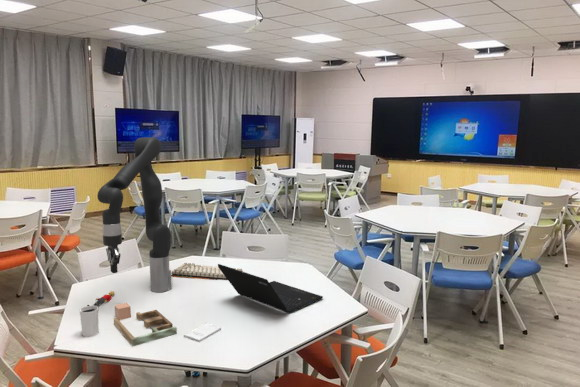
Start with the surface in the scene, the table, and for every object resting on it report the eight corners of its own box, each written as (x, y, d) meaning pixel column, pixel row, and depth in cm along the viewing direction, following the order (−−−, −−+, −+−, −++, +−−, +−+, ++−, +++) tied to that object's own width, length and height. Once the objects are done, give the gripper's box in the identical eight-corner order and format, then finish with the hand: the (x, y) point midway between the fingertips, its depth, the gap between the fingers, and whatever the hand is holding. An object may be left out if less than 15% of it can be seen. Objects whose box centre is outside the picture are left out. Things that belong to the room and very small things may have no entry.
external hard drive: (221, 331, 175) (199, 343, 164) (205, 326, 179) (183, 338, 169) (221, 327, 175) (199, 339, 164) (205, 322, 179) (183, 334, 168)
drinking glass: (87, 329, 174) (85, 305, 173) (103, 329, 174) (101, 305, 172) (77, 336, 168) (75, 311, 166) (93, 337, 167) (92, 312, 166)
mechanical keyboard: (245, 271, 249) (245, 265, 249) (235, 283, 231) (235, 276, 230) (182, 267, 256) (182, 261, 255) (167, 278, 237) (167, 272, 237)
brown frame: (154, 313, 189) (154, 308, 189) (176, 333, 171) (176, 327, 171) (113, 324, 179) (113, 318, 179) (132, 346, 161) (132, 339, 160)
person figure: (86, 300, 193) (109, 286, 210) (84, 308, 193) (107, 293, 211) (97, 304, 192) (119, 290, 210) (95, 312, 193) (117, 297, 211)
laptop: (323, 300, 207) (324, 260, 204) (266, 325, 180) (266, 280, 177) (274, 283, 229) (274, 247, 227) (216, 303, 202) (215, 262, 199)
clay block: (127, 313, 189) (126, 302, 189) (130, 317, 186) (130, 306, 185) (115, 316, 186) (114, 305, 186) (118, 320, 183) (118, 309, 182)
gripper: (126, 235, 186) (127, 274, 188) (116, 229, 197) (118, 266, 199) (107, 237, 181) (109, 278, 184) (98, 231, 192) (100, 269, 194)
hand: (114, 272), depth 191 cm, fingers closed
